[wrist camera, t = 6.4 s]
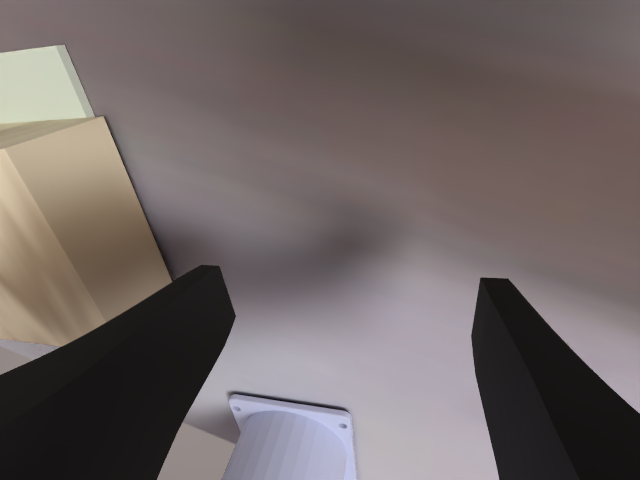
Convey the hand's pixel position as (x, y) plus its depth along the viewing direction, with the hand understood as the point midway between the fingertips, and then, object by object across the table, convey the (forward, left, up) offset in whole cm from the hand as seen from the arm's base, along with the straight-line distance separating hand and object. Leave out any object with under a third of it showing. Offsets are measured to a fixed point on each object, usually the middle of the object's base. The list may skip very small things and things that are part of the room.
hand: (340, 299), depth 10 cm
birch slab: (0, +10, -2) cm, 10 cm away
